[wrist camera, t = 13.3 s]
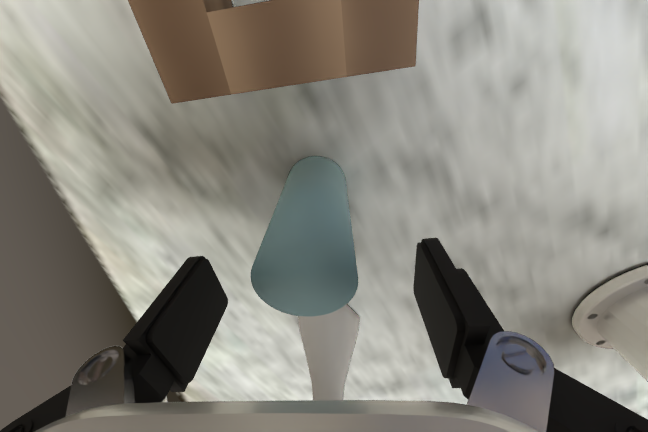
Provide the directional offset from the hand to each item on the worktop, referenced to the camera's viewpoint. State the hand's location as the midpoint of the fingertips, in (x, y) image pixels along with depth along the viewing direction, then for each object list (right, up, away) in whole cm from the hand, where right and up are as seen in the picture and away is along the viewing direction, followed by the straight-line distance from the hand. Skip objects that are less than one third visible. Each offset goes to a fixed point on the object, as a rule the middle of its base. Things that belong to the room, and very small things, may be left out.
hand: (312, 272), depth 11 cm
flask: (+1, -9, +17) cm, 19 cm away
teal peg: (0, +5, +8) cm, 9 cm away
